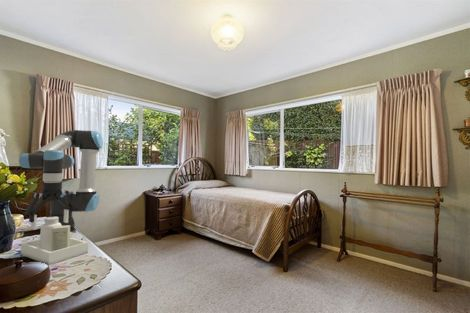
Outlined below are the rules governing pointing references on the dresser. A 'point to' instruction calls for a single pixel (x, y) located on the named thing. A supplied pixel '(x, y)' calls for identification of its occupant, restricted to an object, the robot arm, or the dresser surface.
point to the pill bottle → (48, 232)
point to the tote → (48, 257)
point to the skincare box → (60, 237)
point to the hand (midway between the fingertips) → (50, 225)
